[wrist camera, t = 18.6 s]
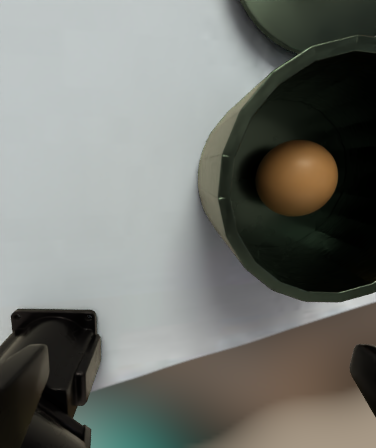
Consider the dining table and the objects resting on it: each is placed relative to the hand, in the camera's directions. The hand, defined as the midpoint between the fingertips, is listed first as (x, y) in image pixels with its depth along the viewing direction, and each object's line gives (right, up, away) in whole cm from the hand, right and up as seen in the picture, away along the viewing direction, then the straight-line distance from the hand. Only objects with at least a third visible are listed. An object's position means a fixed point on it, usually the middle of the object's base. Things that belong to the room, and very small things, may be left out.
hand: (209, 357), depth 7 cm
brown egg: (+6, +7, +9) cm, 13 cm away
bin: (+6, +7, +12) cm, 16 cm away
